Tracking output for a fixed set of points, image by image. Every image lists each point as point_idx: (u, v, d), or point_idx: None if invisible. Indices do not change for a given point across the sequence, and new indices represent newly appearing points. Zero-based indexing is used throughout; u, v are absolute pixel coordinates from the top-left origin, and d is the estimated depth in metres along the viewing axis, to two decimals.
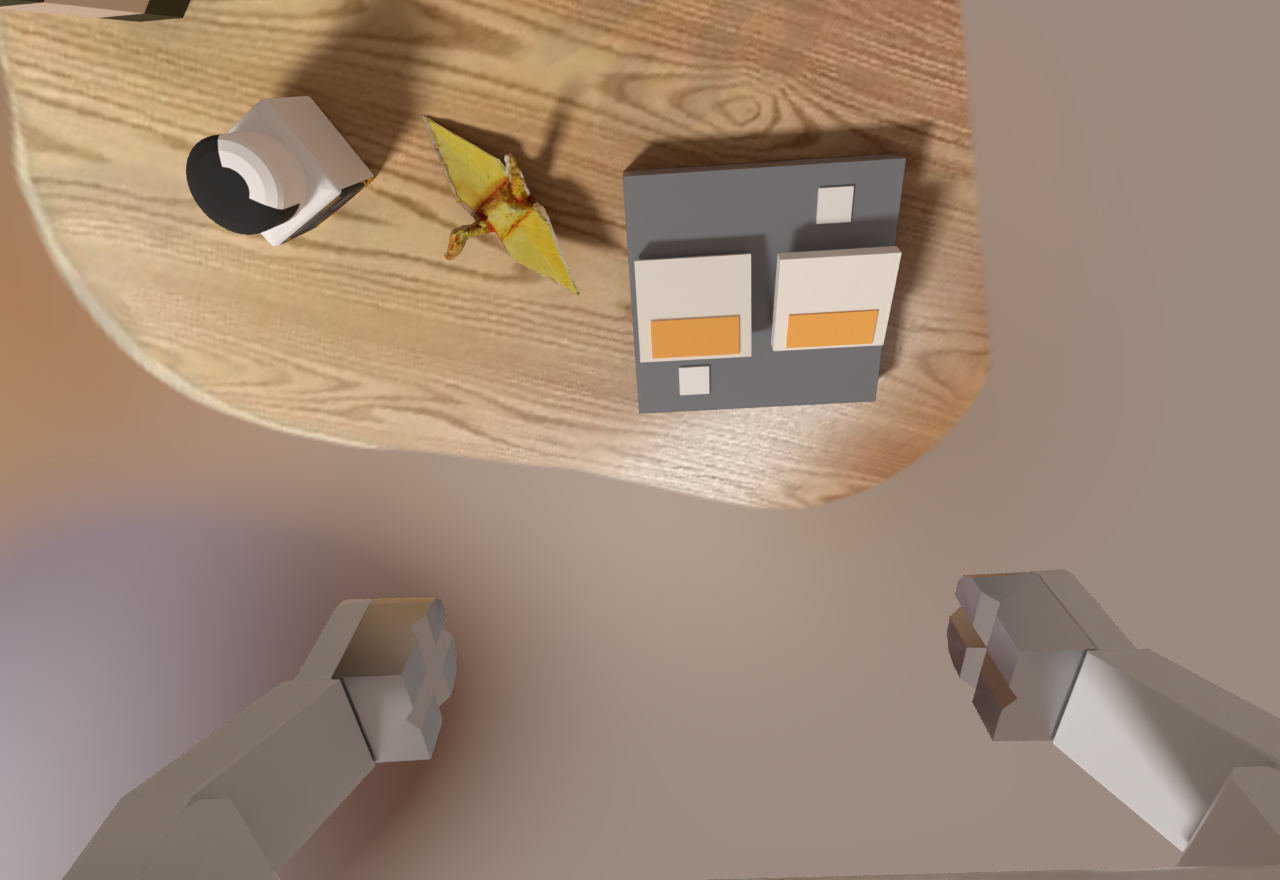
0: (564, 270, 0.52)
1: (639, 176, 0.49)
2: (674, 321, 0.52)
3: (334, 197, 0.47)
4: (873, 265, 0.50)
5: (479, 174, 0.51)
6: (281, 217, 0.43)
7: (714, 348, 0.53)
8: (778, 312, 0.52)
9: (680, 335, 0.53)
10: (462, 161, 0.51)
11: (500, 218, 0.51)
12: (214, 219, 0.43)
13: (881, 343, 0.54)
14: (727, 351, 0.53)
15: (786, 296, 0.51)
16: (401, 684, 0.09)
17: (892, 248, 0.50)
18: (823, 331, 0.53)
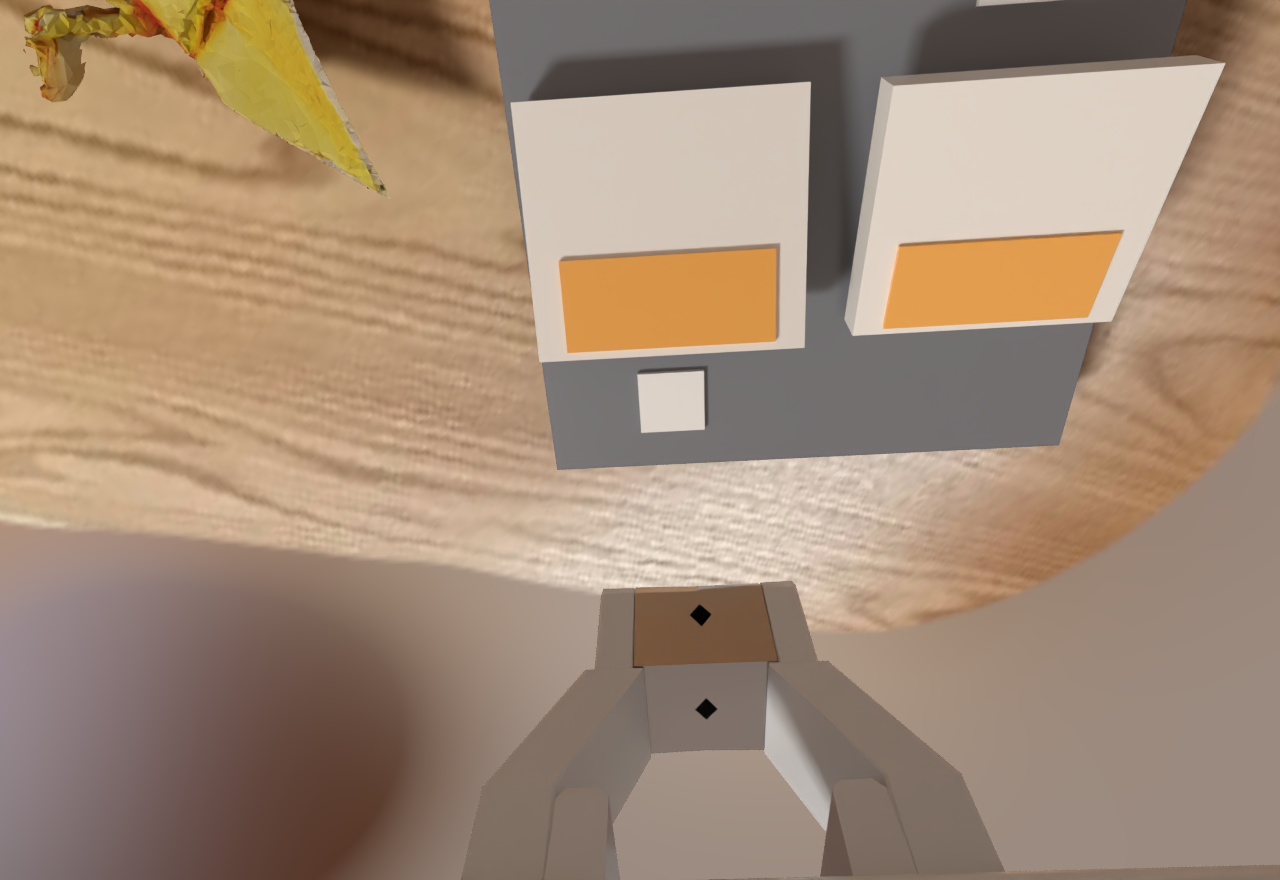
0: (338, 128, 0.21)
1: None
2: (617, 260, 0.21)
3: None
4: (1138, 103, 0.19)
5: None
6: None
7: (715, 328, 0.22)
8: (873, 238, 0.21)
9: (633, 296, 0.22)
10: None
11: None
12: None
13: (1108, 317, 0.23)
14: (747, 335, 0.22)
15: (898, 195, 0.20)
16: (701, 673, 0.09)
17: (1191, 58, 0.19)
18: (978, 288, 0.22)
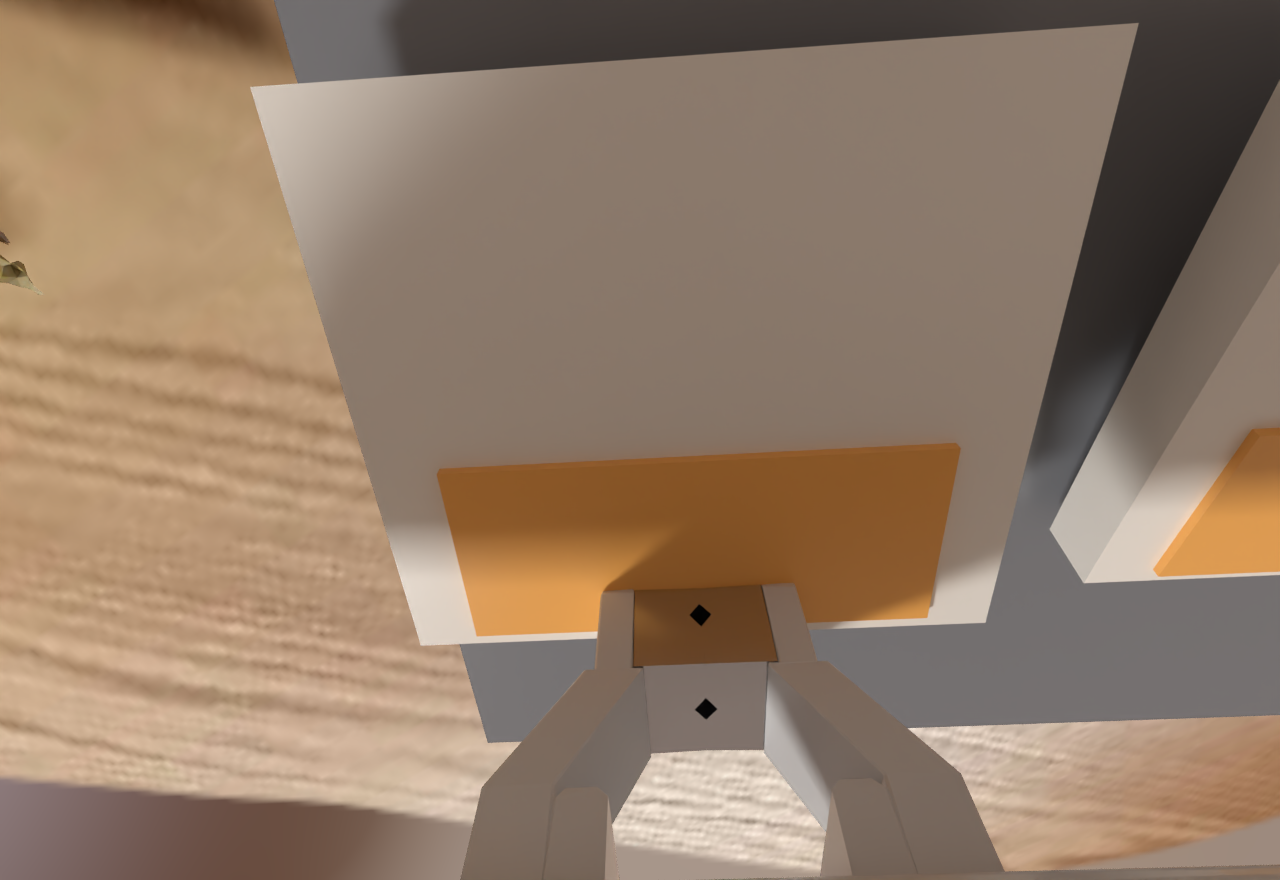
0: None
1: None
2: (578, 472, 0.09)
3: None
4: None
5: None
6: None
7: (799, 596, 0.10)
8: (1196, 416, 0.09)
9: (615, 540, 0.09)
10: None
11: None
12: None
13: None
14: (866, 606, 0.10)
15: None
16: (700, 673, 0.09)
17: None
18: None
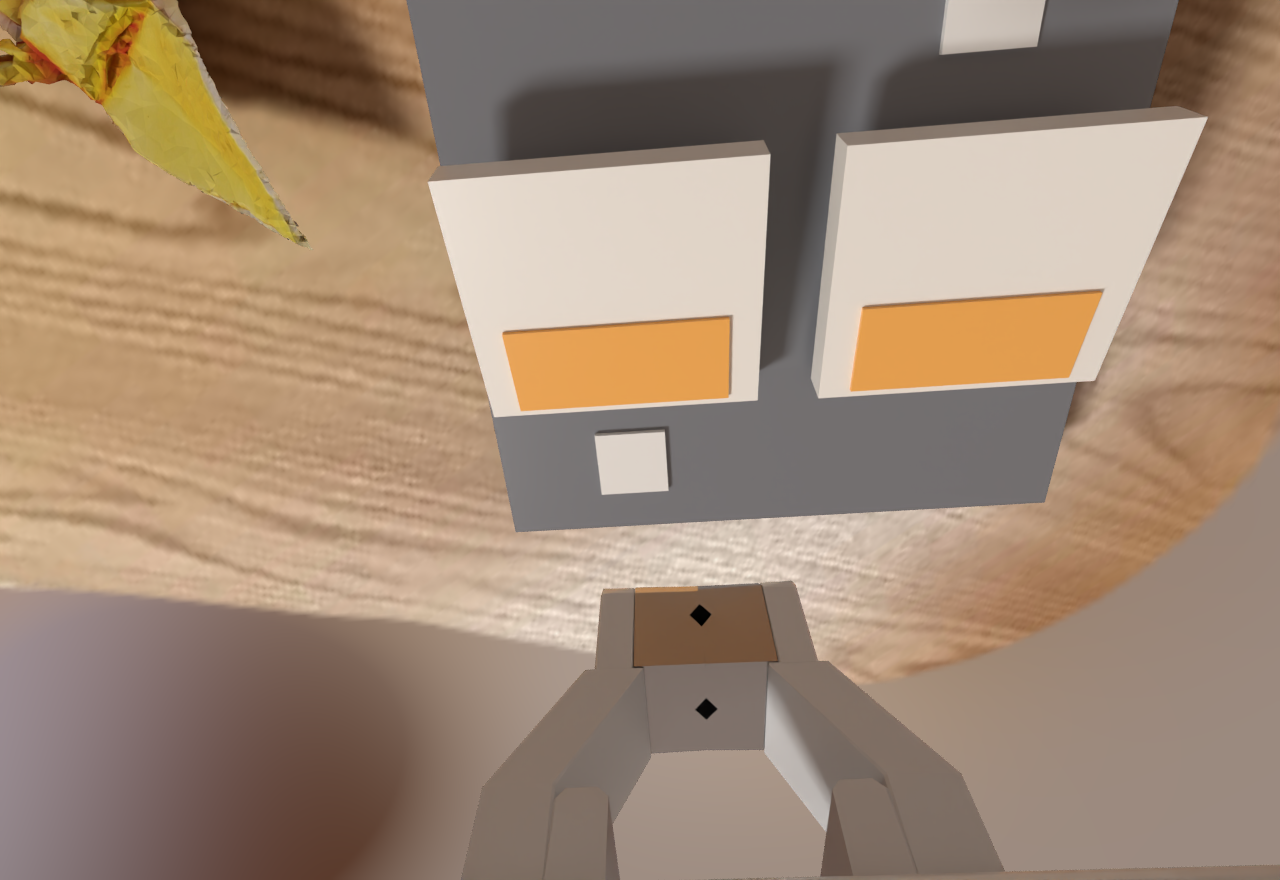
0: (252, 177, 0.20)
1: None
2: (564, 332, 0.20)
3: None
4: (1114, 160, 0.17)
5: None
6: None
7: (668, 388, 0.22)
8: (834, 301, 0.20)
9: (582, 363, 0.21)
10: None
11: (50, 28, 0.18)
12: None
13: (1091, 376, 0.22)
14: (700, 393, 0.22)
15: (859, 256, 0.19)
16: (700, 673, 0.09)
17: (1171, 110, 0.17)
18: (949, 349, 0.21)
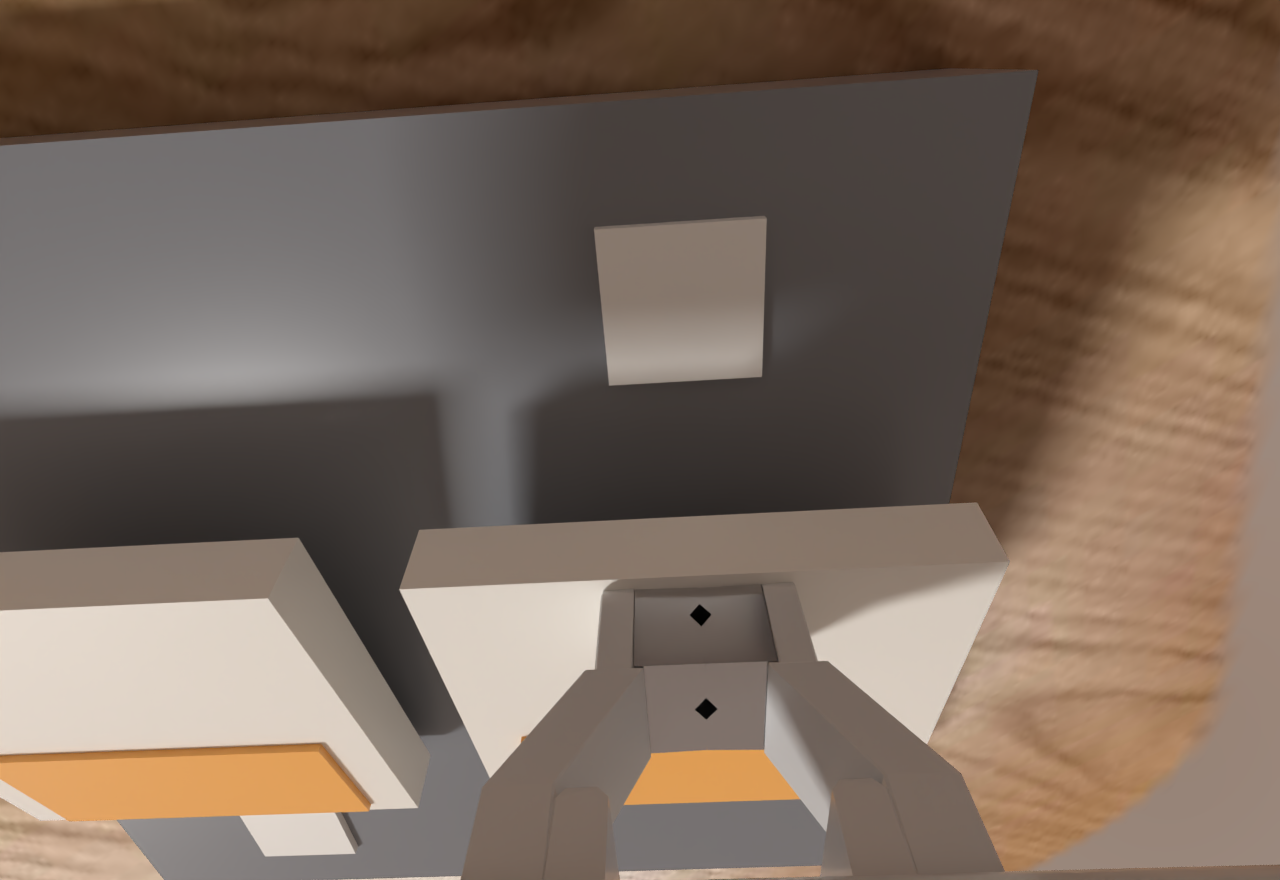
0: None
1: None
2: (70, 762, 0.13)
3: None
4: (863, 604, 0.10)
5: None
6: None
7: (272, 804, 0.15)
8: (475, 731, 0.13)
9: (123, 786, 0.14)
10: None
11: None
12: None
13: None
14: None
15: (488, 693, 0.12)
16: (700, 673, 0.09)
17: (959, 523, 0.10)
18: (673, 776, 0.14)
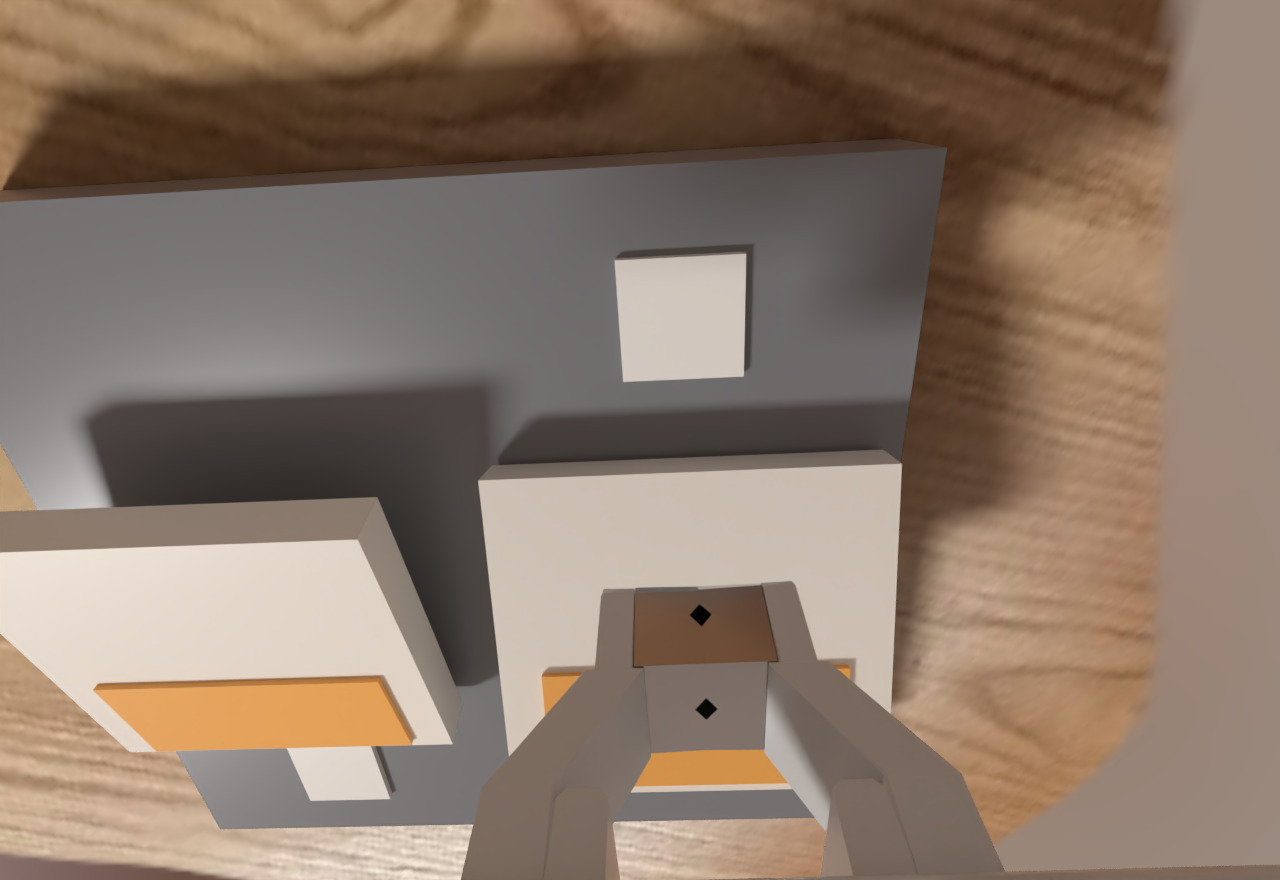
0: None
1: None
2: (171, 689, 0.16)
3: None
4: (807, 507, 0.14)
5: None
6: None
7: (331, 736, 0.17)
8: (504, 663, 0.15)
9: (210, 714, 0.17)
10: None
11: None
12: None
13: None
14: (375, 739, 0.17)
15: (523, 609, 0.15)
16: (700, 673, 0.09)
17: (869, 455, 0.15)
18: None
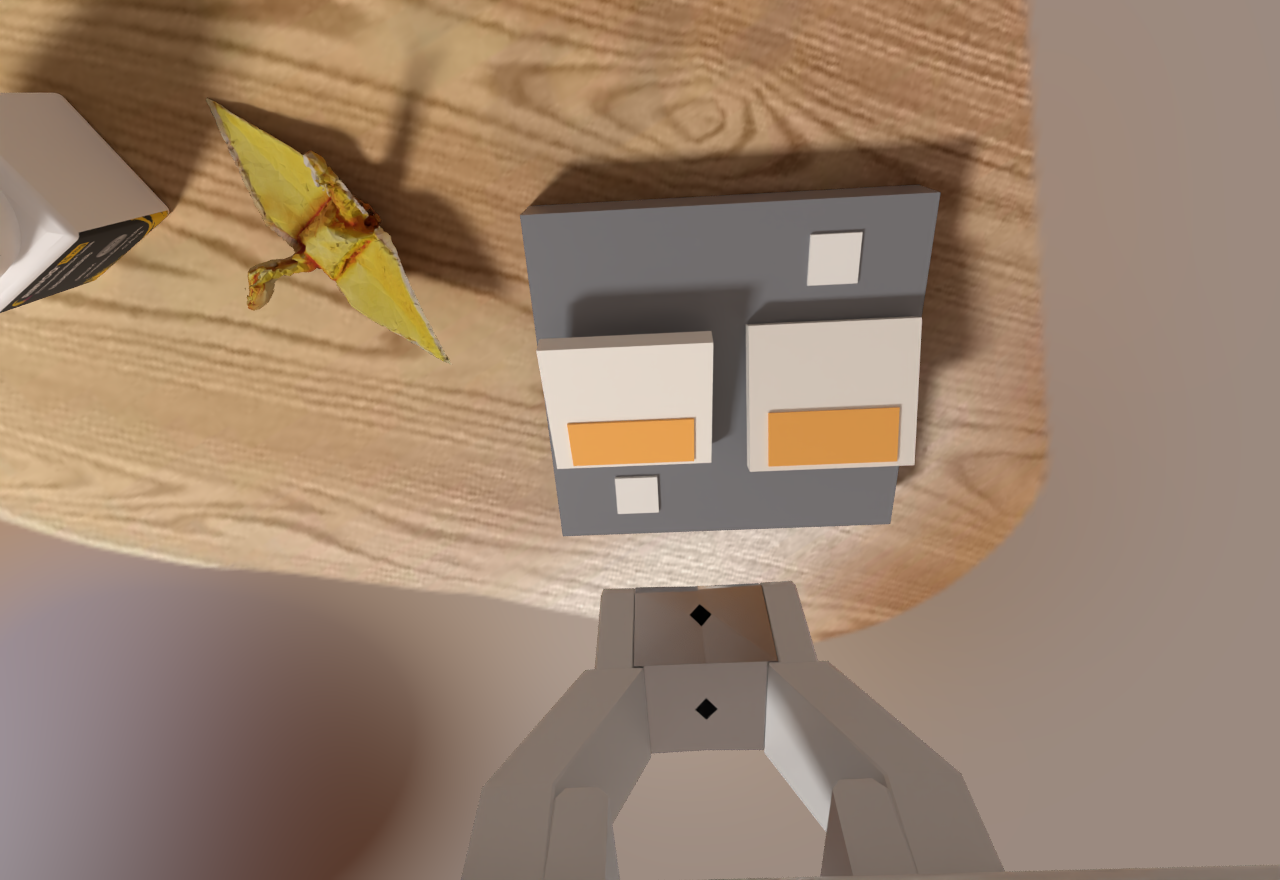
0: (422, 326, 0.36)
1: (544, 215, 0.33)
2: (601, 424, 0.36)
3: (68, 244, 0.30)
4: (883, 336, 0.35)
5: (295, 185, 0.35)
6: None
7: (659, 455, 0.38)
8: (752, 408, 0.36)
9: (611, 440, 0.37)
10: (269, 166, 0.34)
11: (322, 249, 0.34)
12: None
13: (911, 462, 0.36)
14: (677, 458, 0.38)
15: (762, 383, 0.35)
16: (700, 673, 0.09)
17: (908, 317, 0.35)
18: (822, 440, 0.36)
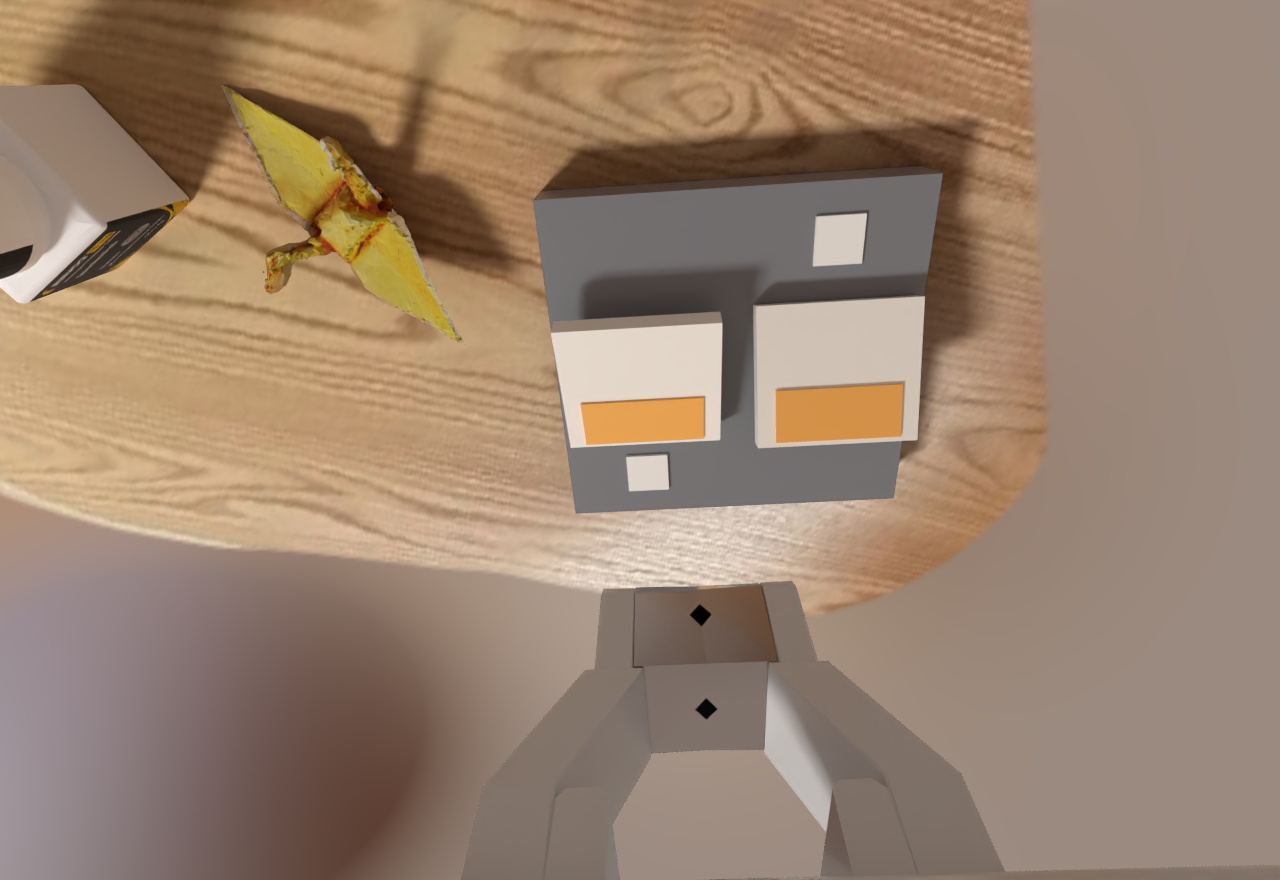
0: (436, 307, 0.36)
1: (557, 199, 0.34)
2: (614, 404, 0.37)
3: (97, 234, 0.31)
4: (887, 315, 0.36)
5: (309, 170, 0.35)
6: None
7: (670, 433, 0.39)
8: (759, 386, 0.37)
9: (623, 419, 0.38)
10: (284, 151, 0.35)
11: (338, 233, 0.35)
12: None
13: (914, 437, 0.37)
14: (687, 436, 0.39)
15: (769, 362, 0.36)
16: (700, 673, 0.09)
17: (911, 296, 0.36)
18: (828, 417, 0.37)
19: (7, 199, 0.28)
